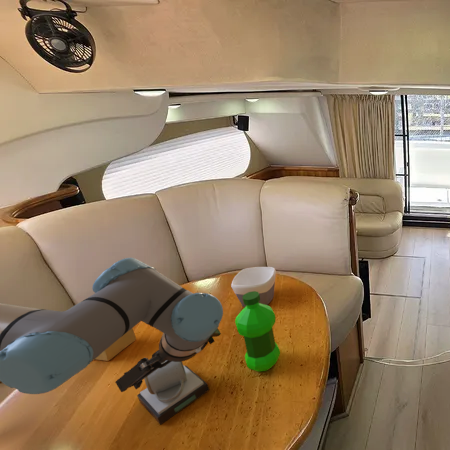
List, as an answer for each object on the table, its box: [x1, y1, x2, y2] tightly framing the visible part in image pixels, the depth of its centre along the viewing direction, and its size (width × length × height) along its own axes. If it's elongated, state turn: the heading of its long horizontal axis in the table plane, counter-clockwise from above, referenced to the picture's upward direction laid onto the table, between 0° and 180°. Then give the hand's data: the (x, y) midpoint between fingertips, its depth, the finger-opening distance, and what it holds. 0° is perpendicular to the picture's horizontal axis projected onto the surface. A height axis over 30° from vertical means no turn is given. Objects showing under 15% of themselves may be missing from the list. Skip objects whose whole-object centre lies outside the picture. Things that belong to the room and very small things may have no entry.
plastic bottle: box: [234, 291, 281, 373], centre depth 91 cm, size 10×10×25 cm
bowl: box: [230, 266, 277, 308], centre depth 125 cm, size 15×15×11 cm
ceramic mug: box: [143, 361, 187, 402], centre depth 82 cm, size 11×8×8 cm
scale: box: [136, 365, 210, 426], centre depth 84 cm, size 12×12×3 cm
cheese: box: [94, 327, 137, 362], centre depth 99 cm, size 10×11×10 cm
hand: (168, 363), depth 75 cm, fingers open, 13 cm apart
